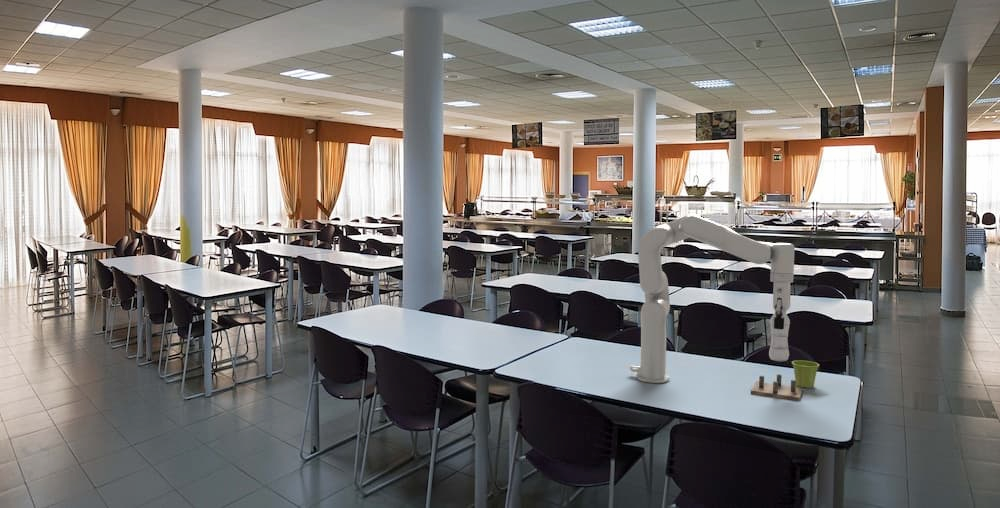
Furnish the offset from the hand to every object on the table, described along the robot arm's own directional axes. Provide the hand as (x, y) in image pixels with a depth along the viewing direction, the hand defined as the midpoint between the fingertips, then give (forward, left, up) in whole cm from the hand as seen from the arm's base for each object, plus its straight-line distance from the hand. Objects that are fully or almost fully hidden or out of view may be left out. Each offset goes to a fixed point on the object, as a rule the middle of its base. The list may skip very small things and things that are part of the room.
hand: (779, 326), depth 228 cm
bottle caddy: (0, 0, -24) cm, 24 cm away
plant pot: (+8, +14, -25) cm, 29 cm away
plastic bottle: (0, 0, -13) cm, 13 cm away
